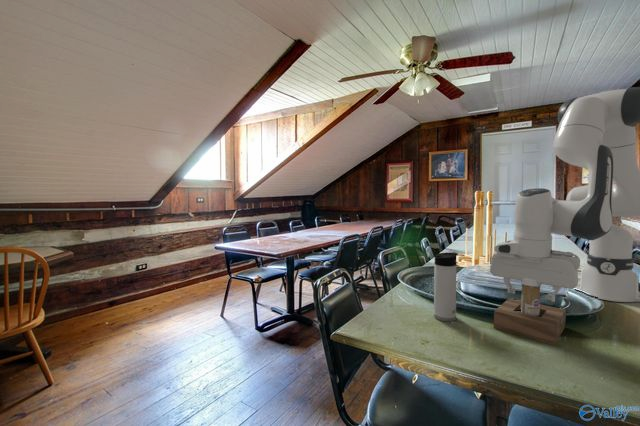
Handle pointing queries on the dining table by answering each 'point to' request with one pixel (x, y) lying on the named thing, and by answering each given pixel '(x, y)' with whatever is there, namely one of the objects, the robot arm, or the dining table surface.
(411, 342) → the dining table surface
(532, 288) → the sprinkles bottle
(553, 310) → the walnut socket block
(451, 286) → the travel mug
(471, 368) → the dining table surface
